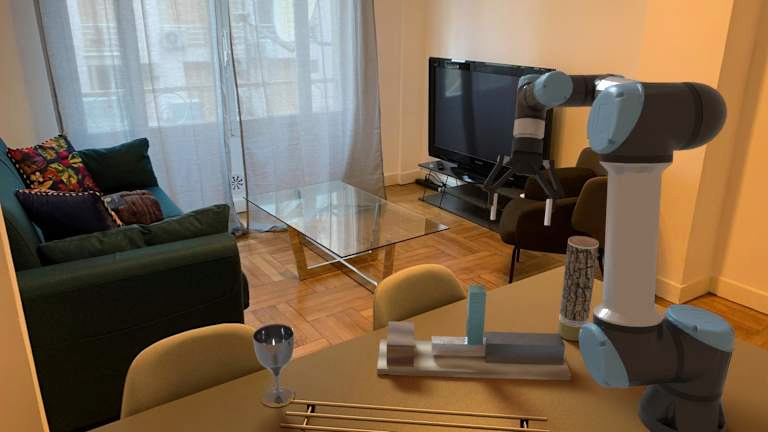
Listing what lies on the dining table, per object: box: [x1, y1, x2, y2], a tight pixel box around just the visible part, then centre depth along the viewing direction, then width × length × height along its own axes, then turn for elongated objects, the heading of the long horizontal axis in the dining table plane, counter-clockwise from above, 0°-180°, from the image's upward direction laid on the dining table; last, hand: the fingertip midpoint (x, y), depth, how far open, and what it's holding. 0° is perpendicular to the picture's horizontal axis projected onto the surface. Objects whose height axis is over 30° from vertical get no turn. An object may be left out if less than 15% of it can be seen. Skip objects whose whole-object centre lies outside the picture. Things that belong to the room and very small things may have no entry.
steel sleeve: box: [483, 331, 566, 365], centre depth 129 cm, size 5×17×5 cm, turn 87°
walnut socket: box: [386, 321, 415, 367], centre depth 130 cm, size 10×6×6 cm, turn 177°
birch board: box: [376, 338, 572, 381], centre depth 131 cm, size 12×42×2 cm, turn 87°
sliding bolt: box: [431, 284, 487, 356], centre depth 127 cm, size 4×27×16 cm, turn 87°
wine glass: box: [252, 323, 295, 404], centre depth 116 cm, size 8×8×15 cm
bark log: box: [557, 235, 600, 342], centre depth 138 cm, size 7×7×25 cm
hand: (519, 222), depth 144 cm, fingers open, 13 cm apart
